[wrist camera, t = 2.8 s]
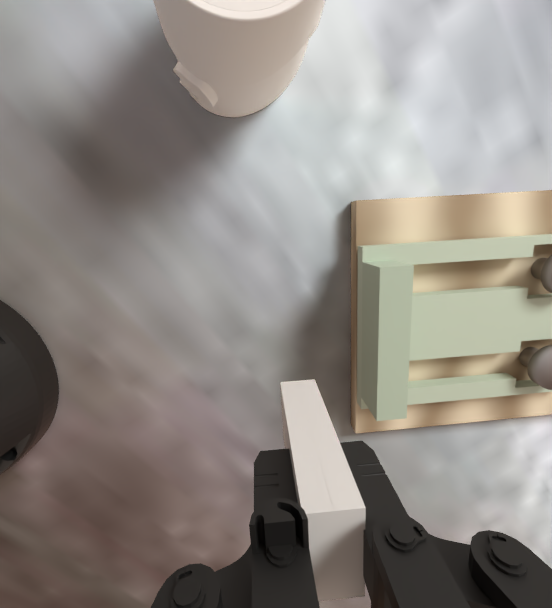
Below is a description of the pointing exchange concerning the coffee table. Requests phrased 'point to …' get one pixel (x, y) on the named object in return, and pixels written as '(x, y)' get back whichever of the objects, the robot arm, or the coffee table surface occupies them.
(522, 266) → the board
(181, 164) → the coffee table surface
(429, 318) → the panel
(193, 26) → the mug
